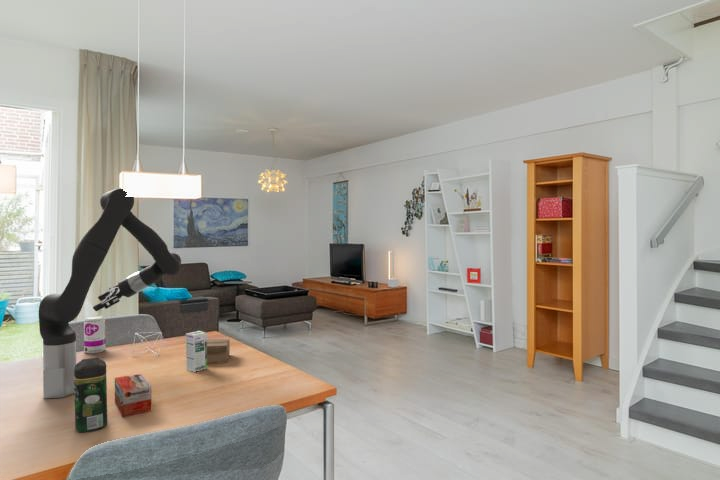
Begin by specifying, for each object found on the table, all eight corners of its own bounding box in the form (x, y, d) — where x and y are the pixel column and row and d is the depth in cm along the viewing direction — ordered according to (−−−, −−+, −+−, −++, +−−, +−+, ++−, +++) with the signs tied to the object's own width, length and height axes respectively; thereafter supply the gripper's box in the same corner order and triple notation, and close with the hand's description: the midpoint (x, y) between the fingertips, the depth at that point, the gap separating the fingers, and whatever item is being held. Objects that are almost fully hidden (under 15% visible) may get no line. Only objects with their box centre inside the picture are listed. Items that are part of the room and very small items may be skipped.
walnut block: (226, 362, 188) (226, 345, 188) (198, 363, 186) (198, 346, 186) (229, 354, 199) (229, 338, 199) (203, 355, 197) (203, 339, 197)
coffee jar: (74, 422, 130) (73, 358, 130) (106, 416, 134) (105, 354, 134) (74, 435, 122) (73, 367, 121) (108, 429, 126) (107, 362, 126)
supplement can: (98, 353, 199) (98, 319, 198) (80, 353, 199) (79, 319, 199) (109, 348, 207) (108, 316, 207) (91, 348, 207) (90, 315, 207)
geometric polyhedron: (135, 359, 191) (136, 338, 191) (127, 354, 199) (127, 333, 199) (166, 354, 200) (166, 333, 199) (157, 349, 208) (157, 329, 207)
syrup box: (194, 372, 175) (194, 335, 174) (185, 369, 178) (185, 332, 178) (207, 368, 179) (207, 332, 179) (198, 366, 183) (198, 330, 183)
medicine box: (152, 411, 139) (152, 385, 138) (122, 418, 134) (122, 391, 133) (141, 396, 151) (141, 372, 150) (113, 402, 146) (113, 377, 146)
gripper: (131, 269, 188) (94, 288, 186) (125, 284, 175) (86, 305, 174) (142, 283, 191) (106, 302, 190) (137, 299, 178) (98, 319, 177)
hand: (96, 303), depth 182 cm, fingers open, 8 cm apart
